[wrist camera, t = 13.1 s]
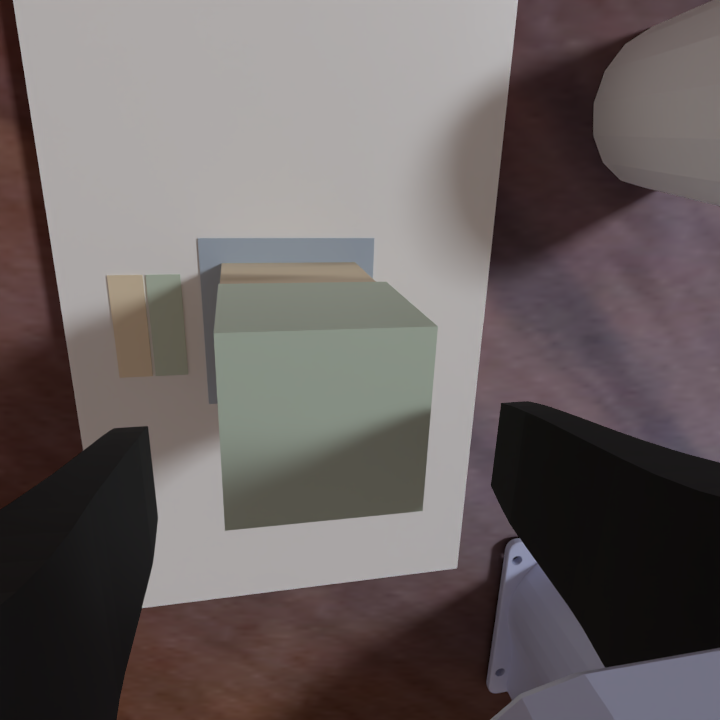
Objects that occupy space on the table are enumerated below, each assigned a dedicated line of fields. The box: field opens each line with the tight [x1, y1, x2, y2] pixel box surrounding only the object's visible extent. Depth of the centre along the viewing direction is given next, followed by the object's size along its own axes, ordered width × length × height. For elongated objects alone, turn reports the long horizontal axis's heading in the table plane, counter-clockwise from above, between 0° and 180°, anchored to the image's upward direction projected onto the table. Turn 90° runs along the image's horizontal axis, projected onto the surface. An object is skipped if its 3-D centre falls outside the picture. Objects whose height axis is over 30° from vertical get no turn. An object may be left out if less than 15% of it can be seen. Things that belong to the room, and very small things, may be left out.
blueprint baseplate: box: [13, 0, 518, 608], centre depth 21 cm, size 24×15×1 cm, turn 178°
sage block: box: [214, 282, 438, 531], centre depth 14 cm, size 5×5×4 cm
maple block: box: [220, 262, 376, 284], centre depth 18 cm, size 5×5×4 cm
